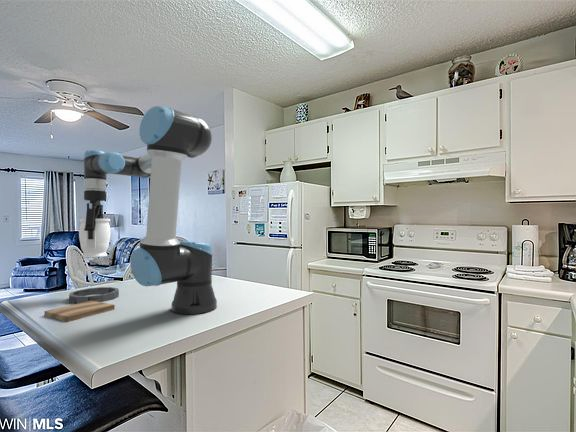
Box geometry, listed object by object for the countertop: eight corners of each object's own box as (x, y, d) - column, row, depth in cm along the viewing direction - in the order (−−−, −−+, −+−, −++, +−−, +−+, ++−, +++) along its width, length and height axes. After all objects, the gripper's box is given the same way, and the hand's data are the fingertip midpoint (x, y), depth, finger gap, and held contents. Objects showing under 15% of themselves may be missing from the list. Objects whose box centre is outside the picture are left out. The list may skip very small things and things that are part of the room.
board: (114, 309, 110) (114, 304, 110) (67, 321, 96) (68, 316, 96) (91, 304, 116) (91, 300, 116) (44, 315, 102) (44, 311, 102)
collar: (127, 295, 129) (127, 289, 129) (86, 305, 114) (86, 298, 114) (101, 291, 136) (101, 285, 136) (59, 300, 122) (59, 293, 122)
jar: (82, 259, 118) (82, 218, 118) (76, 256, 125) (76, 218, 126) (113, 256, 125) (113, 218, 125) (106, 254, 133) (106, 218, 133)
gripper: (98, 188, 116) (98, 249, 116) (112, 193, 138) (112, 244, 137) (74, 187, 114) (74, 249, 113) (92, 192, 135) (92, 245, 135)
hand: (95, 246), depth 125 cm, fingers closed on jar, 10 cm apart
